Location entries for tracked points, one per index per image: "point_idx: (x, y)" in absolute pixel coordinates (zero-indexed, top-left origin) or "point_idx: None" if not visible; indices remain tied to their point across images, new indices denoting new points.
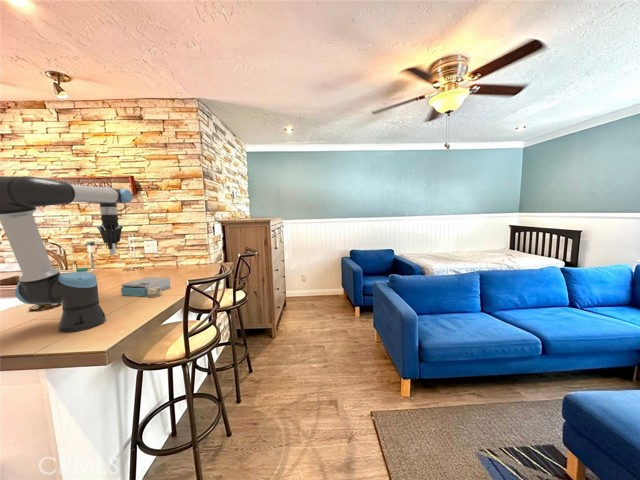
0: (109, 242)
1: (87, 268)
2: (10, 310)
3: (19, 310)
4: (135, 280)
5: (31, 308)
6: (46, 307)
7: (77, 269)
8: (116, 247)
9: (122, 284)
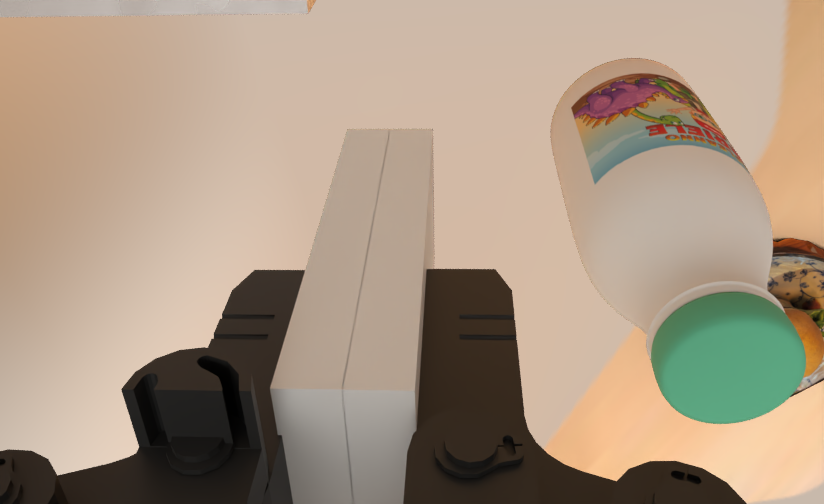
0: (548, 502)
1: (684, 328)
2: (808, 473)
3: (815, 422)
4: (99, 11)
5: (821, 364)
6: None
7: (803, 370)
8: (242, 295)
9: (307, 1)
